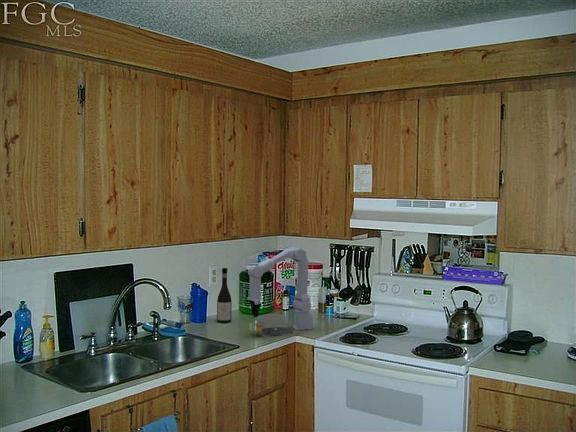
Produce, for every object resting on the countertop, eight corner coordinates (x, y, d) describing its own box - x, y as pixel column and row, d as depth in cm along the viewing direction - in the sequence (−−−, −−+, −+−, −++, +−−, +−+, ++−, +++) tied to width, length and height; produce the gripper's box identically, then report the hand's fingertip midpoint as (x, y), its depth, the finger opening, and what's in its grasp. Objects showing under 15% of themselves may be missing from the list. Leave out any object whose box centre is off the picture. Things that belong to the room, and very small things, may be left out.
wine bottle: (231, 323, 307) (231, 269, 305) (216, 323, 306) (217, 269, 305) (231, 319, 315) (231, 267, 313) (217, 319, 314) (217, 267, 313)
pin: (262, 334, 284) (262, 322, 283) (263, 336, 280) (263, 324, 279) (254, 335, 283) (254, 323, 283) (255, 337, 279) (255, 325, 279)
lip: (292, 332, 289) (292, 326, 289) (294, 335, 283) (294, 328, 283) (256, 333, 286) (256, 327, 285) (257, 336, 280) (257, 329, 280)
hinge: (256, 333, 287) (256, 313, 290) (255, 333, 291) (254, 314, 294) (288, 331, 290) (287, 312, 293) (286, 332, 295) (285, 313, 297)
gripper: (245, 286, 289) (245, 312, 289) (248, 292, 274) (248, 319, 275) (259, 286, 290) (259, 312, 291) (263, 291, 276) (262, 318, 276)
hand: (254, 315), depth 283 cm, fingers open, 5 cm apart
